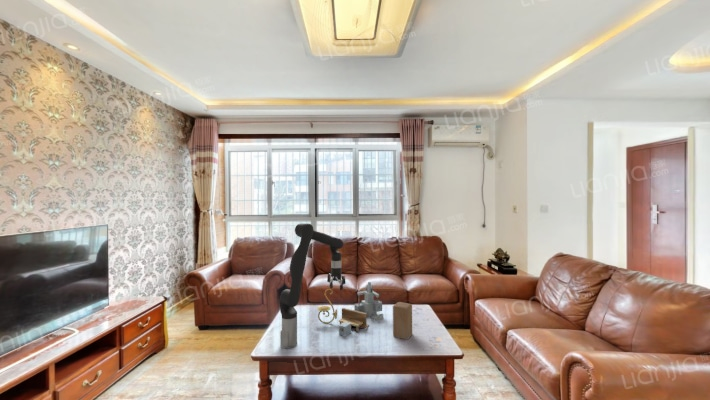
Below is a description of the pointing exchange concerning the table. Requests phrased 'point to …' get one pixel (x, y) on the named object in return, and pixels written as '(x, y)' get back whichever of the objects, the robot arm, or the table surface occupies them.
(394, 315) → the block
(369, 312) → the castle model
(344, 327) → the grey rectangular box
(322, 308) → the wall sconce
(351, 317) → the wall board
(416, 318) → the table surface
